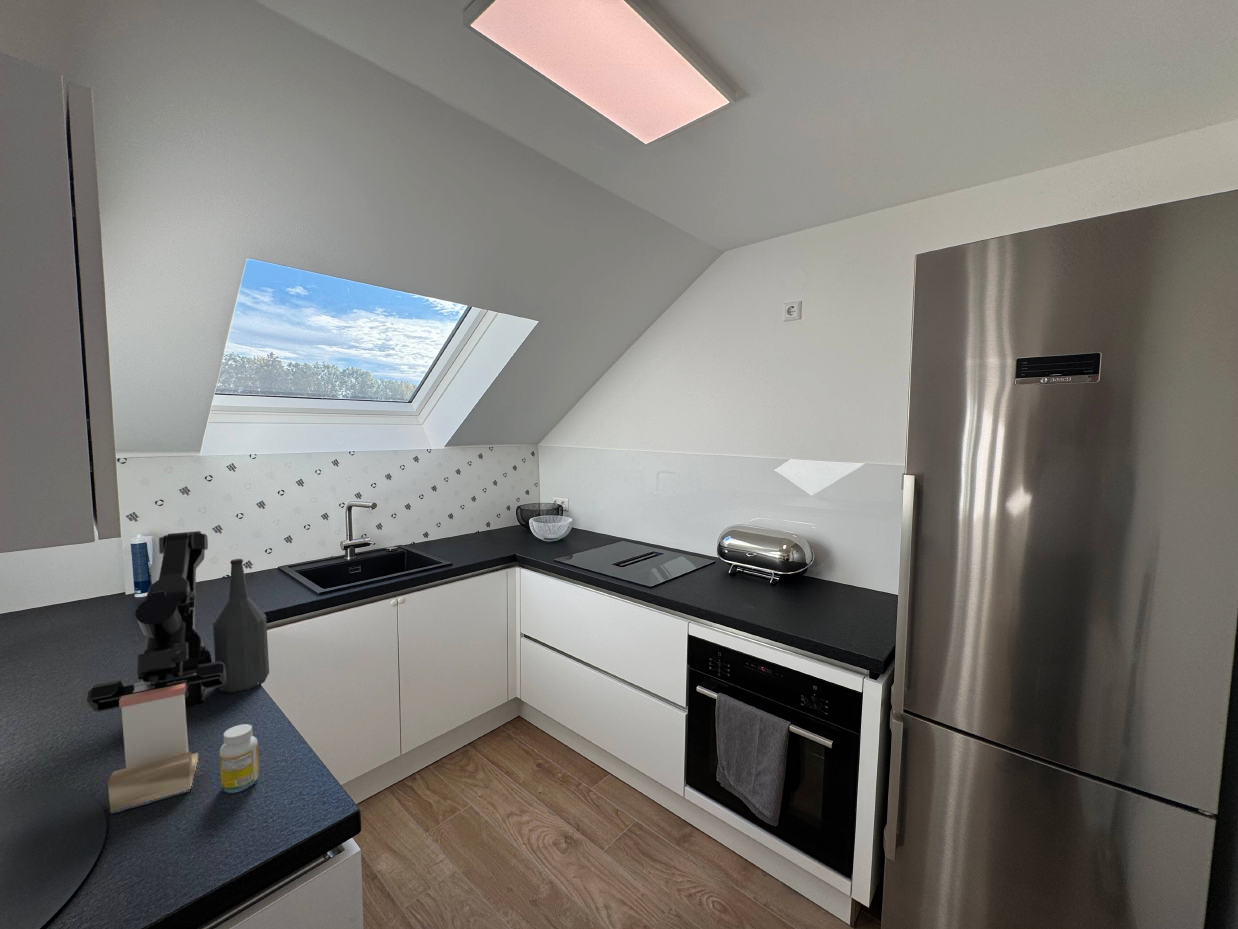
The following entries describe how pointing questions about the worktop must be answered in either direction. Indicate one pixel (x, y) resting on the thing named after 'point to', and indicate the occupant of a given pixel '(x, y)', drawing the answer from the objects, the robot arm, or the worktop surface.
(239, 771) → the supplement bottle
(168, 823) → the worktop surface
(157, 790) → the oak key housing
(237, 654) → the bottle
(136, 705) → the white red-topped panel
